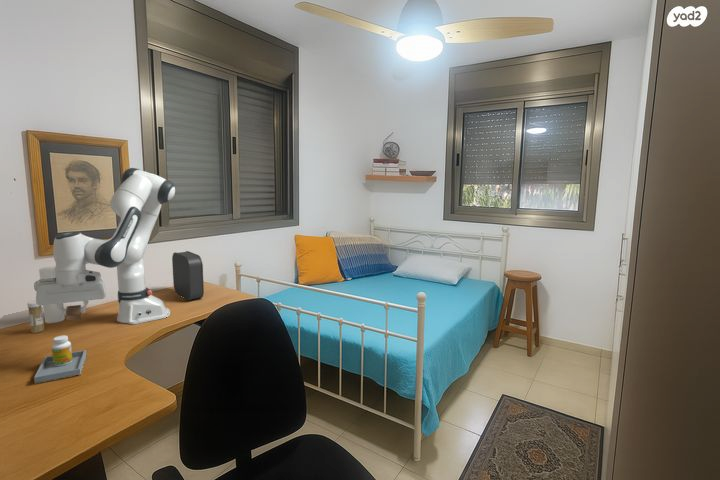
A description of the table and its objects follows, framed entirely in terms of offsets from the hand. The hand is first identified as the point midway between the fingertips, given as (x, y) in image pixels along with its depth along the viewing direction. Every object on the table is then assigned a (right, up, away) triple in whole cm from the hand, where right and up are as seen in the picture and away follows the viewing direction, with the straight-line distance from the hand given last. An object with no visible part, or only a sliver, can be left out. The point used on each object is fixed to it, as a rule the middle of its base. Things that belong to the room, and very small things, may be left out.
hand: (73, 313), depth 136 cm
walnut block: (0, -2, 0) cm, 2 cm away
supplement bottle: (-2, -18, -2) cm, 18 cm away
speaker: (+7, -6, +77) cm, 78 cm away
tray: (0, -19, -6) cm, 20 cm away
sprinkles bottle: (-35, -13, +24) cm, 44 cm away
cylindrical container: (-37, -11, +37) cm, 53 cm away
